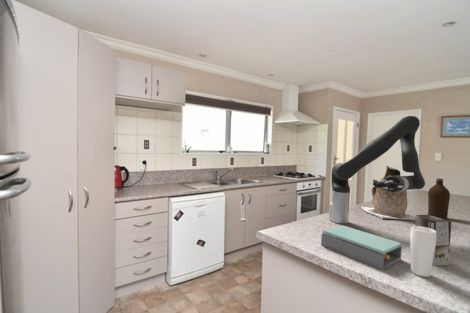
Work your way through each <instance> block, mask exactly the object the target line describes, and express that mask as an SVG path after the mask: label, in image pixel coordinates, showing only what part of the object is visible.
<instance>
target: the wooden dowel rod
mask: <svg viewBox="0 0 470 313" xmlns="http://www.w3.org/2000/svg"><path fill="white" fill-rule="evenodd" d="M336 238H337V237H336ZM344 241H345V240H344ZM347 242H348V241H347ZM350 243H351V242H350ZM358 246H359V245H358ZM361 247H362V246H361ZM364 248H365V247H364ZM372 251H373V250H372ZM375 252H376V251H375ZM378 253H379V252H378ZM389 258H390V257H389V255H388V254H384V259H386V260H388V259H389Z"/></svg>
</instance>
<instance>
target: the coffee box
mask: <svg viewBox="0 0 470 313" xmlns="http://www.w3.org/2000/svg"><path fill="white" fill-rule="evenodd" d="M415 217H416V221H415V226H421V227H426V228H430V229H433V230H435V231H436V247H435V252H434V258H433V264H432V266H449V265H450V250H451V232H452V221H451V220H448V219H445V220H444V219H441V218H438V217H435V216H431V215H428V214H416V215H415Z"/></svg>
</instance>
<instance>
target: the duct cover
mask: <svg viewBox="0 0 470 313" xmlns="http://www.w3.org/2000/svg"><path fill="white" fill-rule="evenodd" d="M322 233H325V234H328V235H331V236H333V237H337V238H339V239H342V240H345V241H348V242H351V243H353V244H356V245H359V246H362V247H365V248H367V249H370V250H373V251H376V252H379V253H381V254H385V253H387V252H390V251H392V250H394V249H396V248H398V247H400V246H402V244H403V243H401V242H399V241H395V240H391V239H388V238H386V237H382V236H378V235H375V234H374V233H373V234H372V233H369V232H366V231H362V230H359V229H357V228H356V229H355V228H352V227H349V226H346V225H344V224H342V225H337V226H336V225H335V226H333V227H330V228H325V229H322Z"/></svg>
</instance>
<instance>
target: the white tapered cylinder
mask: <svg viewBox="0 0 470 313" xmlns="http://www.w3.org/2000/svg"><path fill="white" fill-rule="evenodd" d="M409 234H410V235H409V237H410V238H409V246H410V270H411V272H412V273H413V274H415V275H416V276H418V277H419V276H420V277H423V278H429V277H431V276H432V268H433V265H432V264H433V258H434V252H435V247H436V231H435V230H433V229H430V228H426V227H421V226H416V225H412V226H410V232H409Z"/></svg>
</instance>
